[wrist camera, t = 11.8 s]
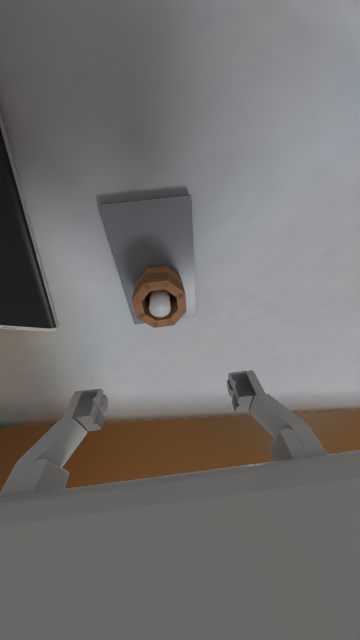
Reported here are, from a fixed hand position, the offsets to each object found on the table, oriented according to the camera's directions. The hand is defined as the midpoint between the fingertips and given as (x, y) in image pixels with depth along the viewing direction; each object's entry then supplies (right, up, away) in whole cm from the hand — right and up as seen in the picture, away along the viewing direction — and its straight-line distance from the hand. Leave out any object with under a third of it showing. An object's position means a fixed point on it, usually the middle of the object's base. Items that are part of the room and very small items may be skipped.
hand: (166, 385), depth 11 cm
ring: (-2, +9, +13) cm, 15 cm away
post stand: (-2, +11, +13) cm, 17 cm away
